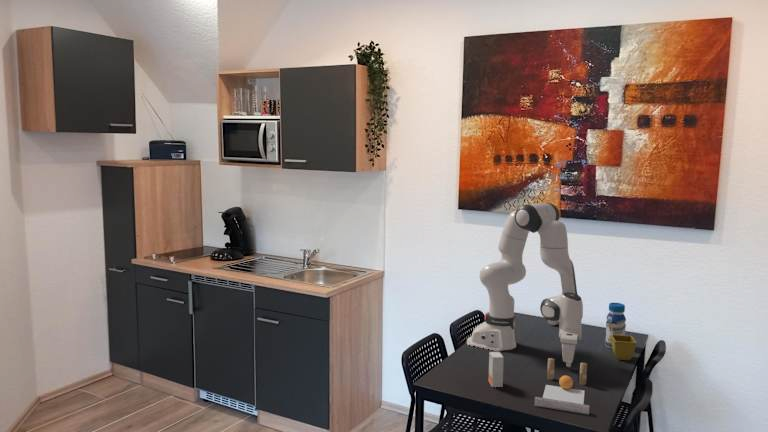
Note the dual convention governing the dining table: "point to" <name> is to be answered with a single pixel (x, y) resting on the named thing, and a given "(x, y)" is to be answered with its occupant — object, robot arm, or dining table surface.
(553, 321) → the frog figurine
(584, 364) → the right post
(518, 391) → the dining table surface
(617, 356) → the flower pot
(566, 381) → the ball
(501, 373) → the skincare box
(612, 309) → the beverage bottle
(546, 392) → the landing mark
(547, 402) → the wall
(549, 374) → the left post
